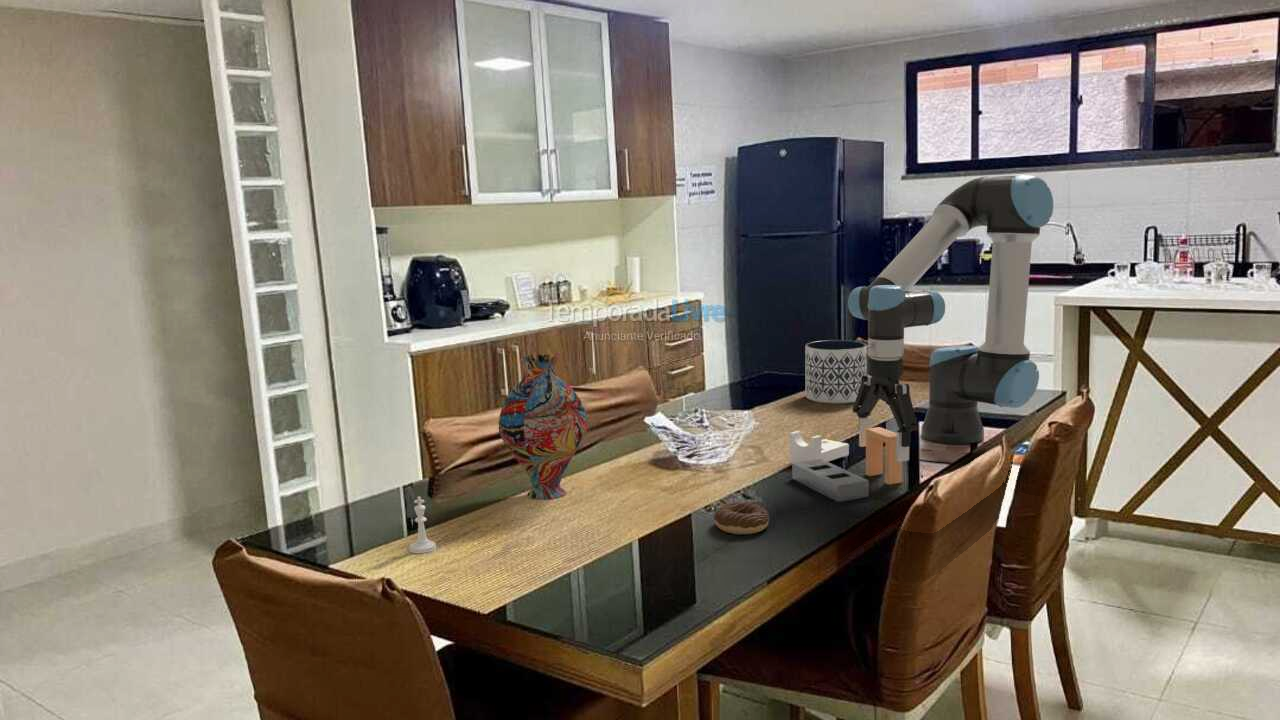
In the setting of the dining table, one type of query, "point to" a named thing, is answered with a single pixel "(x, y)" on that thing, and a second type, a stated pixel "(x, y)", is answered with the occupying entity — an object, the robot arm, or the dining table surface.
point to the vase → (543, 425)
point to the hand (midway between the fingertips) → (883, 453)
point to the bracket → (815, 449)
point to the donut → (741, 518)
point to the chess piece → (421, 532)
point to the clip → (875, 455)
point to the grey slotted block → (830, 480)
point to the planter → (834, 370)
